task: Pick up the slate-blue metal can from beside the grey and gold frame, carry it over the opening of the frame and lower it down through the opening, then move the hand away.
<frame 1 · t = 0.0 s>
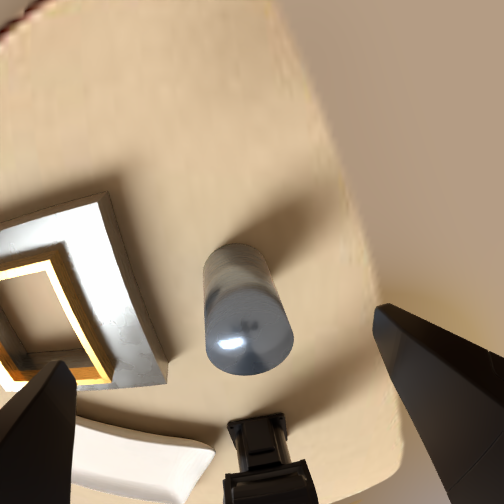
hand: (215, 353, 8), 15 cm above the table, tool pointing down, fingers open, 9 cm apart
can: (235, 273, 24), on the table
grey and gold frame: (41, 307, 23), on the table
salad plate: (121, 451, 35), on the table
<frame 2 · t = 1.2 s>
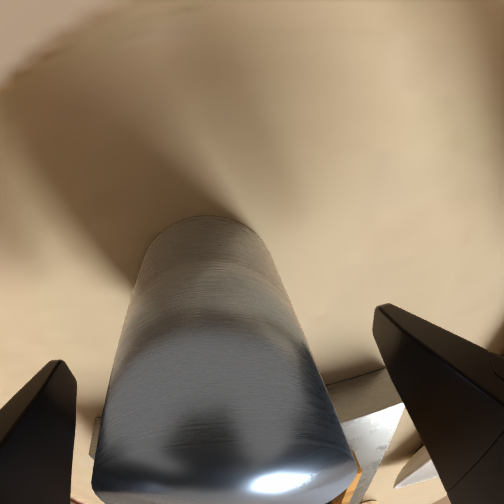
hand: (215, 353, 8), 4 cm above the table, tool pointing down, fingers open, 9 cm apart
can: (207, 279, 12), on the table
grey and gold frame: (259, 473, 19), on the table
salad plate: (501, 389, 23), on the table
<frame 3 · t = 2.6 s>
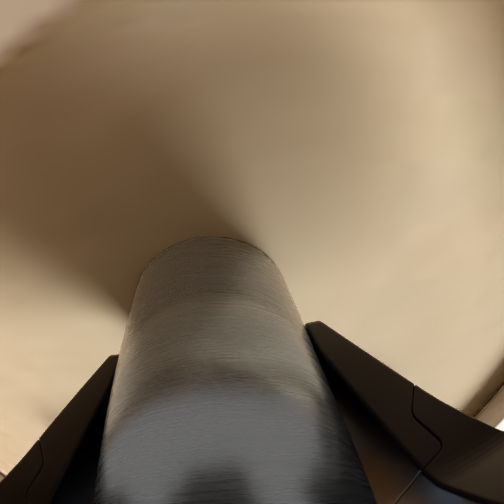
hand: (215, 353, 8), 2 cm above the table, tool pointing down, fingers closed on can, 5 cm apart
can: (211, 307, 10), on the table, touching gripper
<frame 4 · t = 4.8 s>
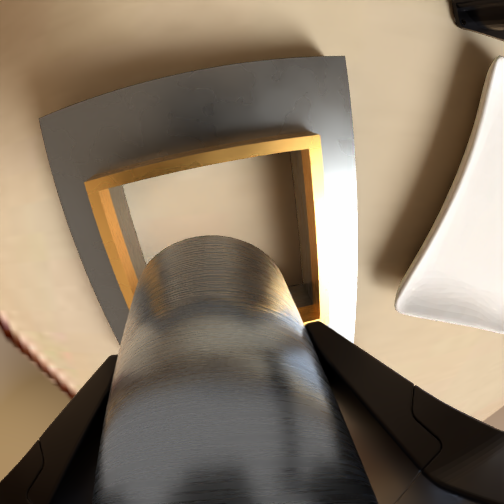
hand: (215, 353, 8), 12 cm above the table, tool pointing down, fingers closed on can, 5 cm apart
can: (211, 306, 10), point 10 cm above the table, touching gripper
grey and gold frame: (217, 232, 20), on the table
salad plate: (498, 212, 23), on the table
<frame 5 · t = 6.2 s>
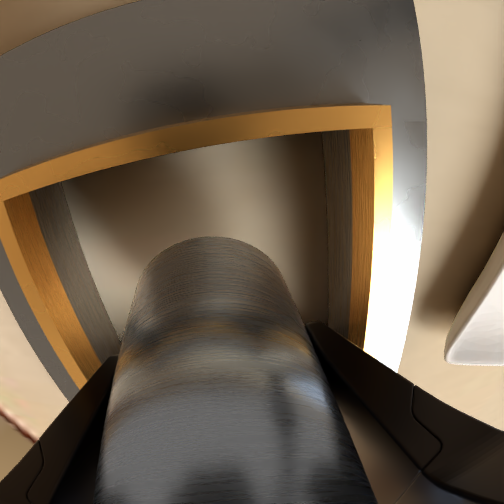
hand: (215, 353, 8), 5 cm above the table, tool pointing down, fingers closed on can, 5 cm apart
can: (211, 307, 10), point 3 cm above the table, touching gripper
grey and gold frame: (207, 261, 13), on the table
when the fingers open (4 cm above the table, at t = 7.2 s): can drops 2 cm, resting in grey and gold frame.
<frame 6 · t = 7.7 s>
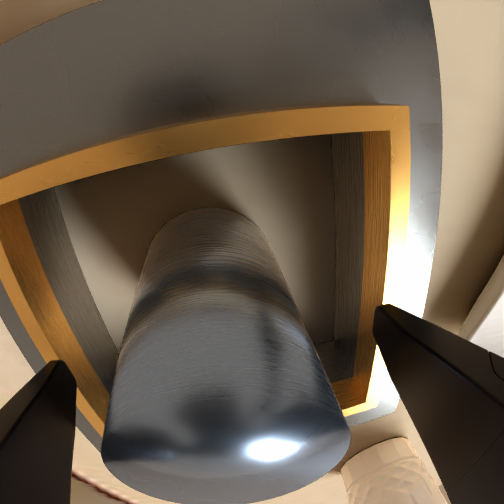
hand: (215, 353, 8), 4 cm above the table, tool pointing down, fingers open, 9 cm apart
can: (209, 268, 12), resting in grey and gold frame
grey and gold frame: (208, 270, 12), on the table
white cup: (374, 455, 23), on the table
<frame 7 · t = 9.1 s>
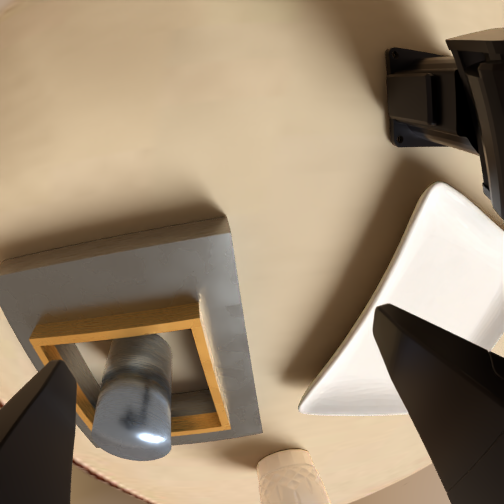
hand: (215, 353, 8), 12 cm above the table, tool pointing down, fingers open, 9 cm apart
can: (141, 353, 22), resting in grey and gold frame
grey and gold frame: (140, 354, 22), on the table
white cup: (283, 460, 34), on the table
salad plate: (427, 315, 27), on the table
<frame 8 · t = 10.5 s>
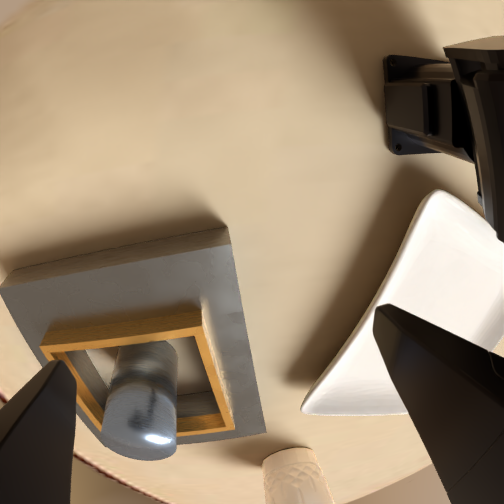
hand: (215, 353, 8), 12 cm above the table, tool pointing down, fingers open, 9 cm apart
can: (147, 357, 23), resting in grey and gold frame
grey and gold frame: (147, 358, 23), on the table
white cup: (287, 458, 34), on the table
salad plate: (428, 317, 27), on the table
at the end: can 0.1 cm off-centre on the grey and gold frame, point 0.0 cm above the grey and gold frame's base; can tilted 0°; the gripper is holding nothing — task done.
